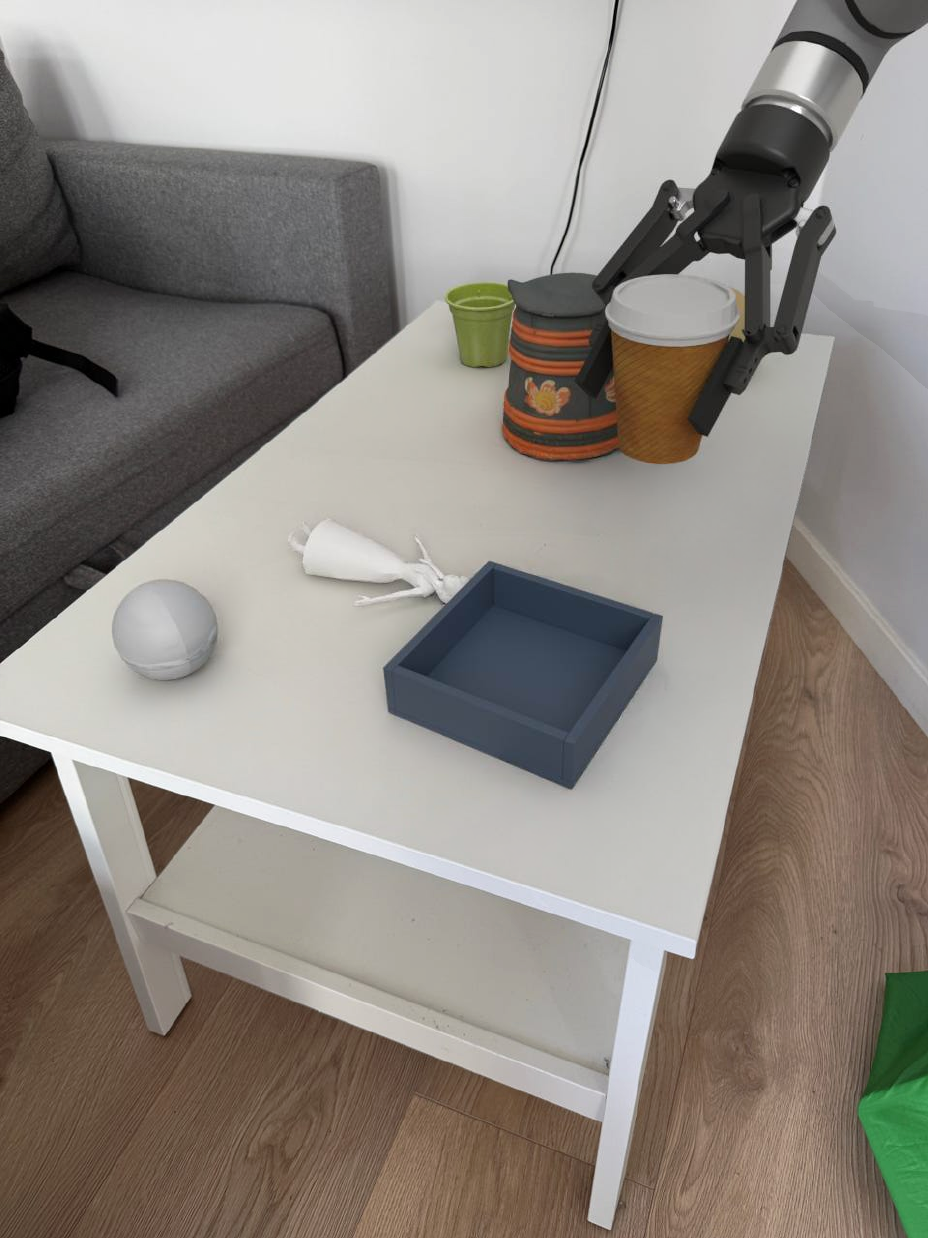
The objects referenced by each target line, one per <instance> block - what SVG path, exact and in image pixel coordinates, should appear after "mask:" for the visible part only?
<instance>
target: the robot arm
mask: <svg viewBox="0 0 928 1238" xmlns="http://www.w3.org/2000/svg"><path fill="white" fill-rule="evenodd" d="M927 24H928V0H796V1H795V3H794V5H793V7H792V9H791V11H790V12H789V15H788V17H787V18H786V21H785V22H784V25H782V28H781V30H780V32H779V34H778V36H777V38H776V39H775V42H774V44H773V45H772V47H771V50H770V51H769V53H768V55H767V56H766V58H765V60H764V62H763V64H762V66H761V67H760V69H759V70H758V73H757V75H756V77H755V78H754V81H753V82H752V84H751V86H750V88H749V90H748V92H747V93H746V95H745V97H744V99H743V101H742V103H741V106H740V111H739V112H738V113H736V115H735V117H734V119H733V121H732V122H731V124H730V126H729V128H728V130H727V132H726V134H725V136H724V138H723V140H722V142H721V143H720V145H719V146H718V147H719V148H718V149H717V151H716V153H715V156H714V160H713V163H712V166H711V170H710V172H709V174H708V175H707V176H706V177H705V179H704V180H702V181H701V182H700V183H699V184H698V185H696V188H691V187H690V188H689V187H678V185H677V183H676V181H675V180H674V179H667V180H664V181H663V182H662V183H661V185H660V186H659V189H658V192H657V194H656V196H655V198H654V201H653V203H652V206H651V207H650V208H649V210H648V211H647V212H646V213H645V215H644V216H643V217H642V219H641V220H640V221H639V222H638V224H637V225H636V226H635V227H634V228H633V230H632V231H631V233H630V234H628V236H627V238H626V239H625V240H623V243H622V244H621V245H619V247H618V249H617V250H616V251H615V253H613V255H612V256H611V258H610V259H609V260H608V261H607V263H606V264H605V265H604V266H603V268H602V269H601V270H600V271H599V272H598V274H597V277H596V278H595V279H594V281H593V282H592V289H593V290H594V291H595V292H596V294H597V295H598V296H599V298H600V299H601V300H602V302H603V303H604V304H605V307H604V309H603V311H602V313H601V315H600V317H599V319H598V321H597V323H596V325H595V327H594V328H593V330H592V332H591V334H590V336H589V344H590V345H591V346H592V349H591V350H590V352H589V354H588V356H587V358H586V360H585V362H584V364H583V366H582V368H581V370H580V371H579V373H578V375H577V377H576V379H575V382H576V383H577V384H578V386H579V387H580V388H581V389H582V390H583V391H584V392H585V393H586V394H587V395H588V396H590V397H592V398H595V399H596V398H597V396H598V394H599V393H600V391H601V389H602V387H603V385H604V383H605V381H606V379H607V377H608V375H609V374H610V372H611V370H612V368H613V352H612V336H611V328H610V326H609V322H608V320H607V318H606V315H605V309H606V306H607V305H608V304H609V303H610V302H611V299H612V295H613V291H614V289H615V288H616V287H617V286H618V285H620V284H621V283H623V282H626V281H628V280H631V279H635V278H639V277H643V276H651V275H663V274H677V275H680V274H681V273H682V272H683V271H684V270H685V269H686V268H687V267H689V266H690V265H692V263H694V262H700V261H701V260H703V259H705V257H707V256H708V255H709V254H710V253H712V254H717V255H725V254H729V255H730V256H732V257H734V258H736V259H740V260H744V296H745V330H743V329H742V333H743V335H744V336H745V340H744V342H742V340H741V338H737V337H733V336H731V337H730V339H729V341H728V343H727V345H726V347H725V349H724V351H723V353H722V354H721V356H720V358H719V360H718V362H717V364H716V366H715V368H714V369H713V371H712V373H711V375H710V377H709V379H708V381H707V383H706V384H705V386H704V388H703V390H702V392H701V394H700V396H699V398H698V399H697V401H696V403H695V405H694V407H693V409H692V411H691V413H690V414H689V416H688V418H687V420H688V421H689V422H690V424H691V425H692V426H693V427H694V429H695V430H696V431H697V433H698V434H700V435H702V437H706V438H709V435H710V434H711V432H712V430H713V428H714V427H715V424H716V422H717V421H718V419H719V417H720V415H721V413H722V412H723V409H724V408H725V405H726V404H727V402H728V400H729V398H730V397H731V394H734V395H737V396H740V395H741V394H743V393H744V392H745V391H746V389H747V388H748V386H749V384H750V382H751V380H752V378H753V376H754V375H755V373H756V371H757V369H758V367H759V366H760V363H761V362H762V360H763V359H764V357H766V356H767V355H769V354H772V353H781V354H783V355H786V356H789V355H793V354H794V353H795V352H796V351H797V350H798V348H799V345H800V340H801V337H802V333H803V330H804V325H805V321H806V318H807V314H808V310H809V305H810V303H811V298H812V294H813V292H814V291H813V290H814V287H815V283H816V279H817V274H818V271H819V268H820V263H821V260H822V257H823V255H824V253H825V252H826V250H827V248H828V247H829V246H830V244H831V243H832V241H833V240H834V238H835V236H836V234H837V228H836V225H835V221H834V218H833V214H832V212H831V209H830V207H829V206H827V205H820V206H817V207H816V208H814V209H810V208H807V207H804V205H805V203H806V202H807V200H809V198H810V197H811V194H812V193H813V191H814V190H815V187H816V185H817V183H818V182H819V179H820V178H821V176H822V174H823V172H824V170H825V168H826V166H827V165H828V163H829V160H830V157H831V153H832V152H833V151H834V150H835V148H836V146H837V145H838V144H839V141H840V139H841V137H842V136H843V134H844V132H845V131H846V128H847V126H848V124H849V123H850V121H851V119H852V117H853V115H854V113H855V111H856V110H857V108H858V106H859V103H860V102H861V101H862V99H863V97H864V95H865V94H866V91H867V90H868V87H869V85H870V83H871V82H872V80H873V78H874V76H875V74H876V72H877V71H878V69H879V67H880V65H881V63H882V61H883V60H884V58H885V57H886V55H887V54H888V53H889V51H890V50H891V49H892V48H893V47H894V46H895V45H897V44H898V43H900V42H901V41H902V40H903V39H905V38H907V37H908V36H909V35H913V34H914V33H916V32H917V31H918V30H920V29H921V28H923V27H924V26H926V25H927ZM692 209H693V212H692V213H691V214H689V215H688V216H687V217H686V213H687V212H689V211H690V210H692ZM679 222H680V223H679ZM678 223H679V224H678ZM677 224H678V225H677ZM676 226H677V227H676ZM674 230H675V232H674V234H673V235H672V236H671V237H670V235H671V234H672V233H673V231H674ZM794 230H795V235H796V241H795V244H794V246H793V251H792V255H791V259H790V263H789V266H788V270H787V274H786V277H785V282H784V284H783V289H782V293H781V297H780V301H779V305H778V308H777V312H776V315H775V320H774V324H773V326H771V271H772V270H773V244H774V243H776V242H777V241H779V240H780V239H781V238H783V237H785V236H786V235H788V234H789V233H790V232H792V231H794ZM696 233H697V236H698V237H699V239H698V240H697V239H696V238H695V235H696ZM669 237H670V238H669ZM668 238H669V239H668Z"/></svg>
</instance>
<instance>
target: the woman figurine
mask: <svg viewBox="0 0 928 1238" xmlns="http://www.w3.org/2000/svg"><path fill="white" fill-rule="evenodd" d="M301 531H302V535H303V536H304V537H305V538H307V540H306V542H305V545H304V544H301V543H299V541H298V539H297V538H296V537H295V536H294V532H291V534H289V536H288V543H289V549H291V550H293V551H294V552H297V553H299V554H300V555H302V557H303V559H302V562H301V563H302V564H301V565H302V566H303V569H304V571H305V573H306V575H310V576H317V577H326V578H330V579H331V578H332V579H335V580H342V581H349V582H350V581H351V582H352V581H353V582H364V583H374V584H375V583H376V584H387V583H388V584H389V583H393V582H395V581H398V580H403V581H405V582H406V583H408V584H409V585H411V586H412V587H413V588H410V589H403V590H399V591H396V592H392V593H388V594H386V595H380V596H376V597H369V596H366V595H357V596H358V598H362V599H358V600H354V601H353V604H352V606H355V607H364V606H368V605H370V604H376V603H381V602H386V601H397V600H400V599H405V598H412V597H422V598H426V597H429V596H430V595H433V594H434V593H436V595H437V596H438V598H439V600H440V601H441V602H442V603H444V604H445V605H446V604H447V603H448V602H449V601H450V600H451V599H452V598H453V597H454V596H455V595H456V594H457V593H458V592H459V591H460V590H461V589H462V587H463V586H464V585H465V584H466V583H467V582H468V581H469V580H470V579H471V578H470V577H468V576H467V575H465V574H462V575H461V574H460V576H458V575H456V574H446V575H445V574H444V573H443V572H442V571H441V570H439V568H438V567H437V566H436V564H435V563H434V561H433V559H432V557H431V555H430V554H429V553H428V551H427V549H426V547H425V546H424V544H423V542H422V540H421V538H420V536H419V535H418V534H417V533H415V534H413V538H414V541H415V542H416V543H417V546H418V547H419V550H420V551H421V553H422V557H423V558H418V561H420V563H417V562H416V563H415V562H408V561H407V560H406V559H405V558H404V557H403V556H402V555H399V554H397V553H396V552H394V551H393V550H391V549H389V548H387V547H385V546H383V545H382V544H380V543H378V542H377V541H375V540H374V539H371V538H369V537H368V536H366V535H365V534H363V533H361V532H359V531H358V530H356V529H353V528H351V527H350V526H347V525H345V524H343V523H341V522H339V521H337V520H336V519H333V518H326V519H324V520H323V521H321V522H319V523H318V524H316V526H315V528H314V529H313V530H311V529H310V527H309V525H308V523H307V521H304V522H303V523H302V524H301Z"/></svg>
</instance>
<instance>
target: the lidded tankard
mask: <svg viewBox="0 0 928 1238" xmlns="http://www.w3.org/2000/svg"><path fill="white" fill-rule="evenodd" d="M597 275H598V274H597ZM597 275H596V274H592V273H585V272H560V273H559V272H558V273H553V274H547V275H543V276H539V277H534V278H532V279H530V280H526V281H524V282H522V281H518V280H515V279H508V280H507V285H508V291H509V292H510V293H511V295H512V299H513V301H514V303H515V308H514V310H513V312H512V320H511V326H510V334H509V342H508V356H509V357H510V365H509V374H508V384H507V385H508V386H507V388H506V390H505V392H504V395H503V402H502V406H503V407H502V411H503V412H502V423H501V432H502V435H503V437H504V439H505V441H506V442H507V443H508V444H509V445H510V446H511V447H512V448H513V449H515V450H516V451H518V452H519V453H520V454H524V455H526V457H527V456H528V457H529V458H534V459H537V460H540V461H548V462H552V461H577V460H588V459H594V458H598V457H601V456H605V455H607V454H610V453H612V452H614V451H616V450H617V449H619V447H618V430H617V415H616V400H615V383H614V368H612V370H611V372H610V374H609V375H608V377H607V379H606V381H605V383H604V385H603V387H602V389H601V391H600V393H599V394H598V396H597V398H596V399H595V398H592V397H590V396H588V395H587V394H586V393H585V392H584V391H583V390H582V389H581V388H580V387H579V386H578V384H577V383H576V382H575V379H576V377H577V375H578V373H579V371H580V370H581V368H582V366H583V364H584V362H585V360H586V358H587V356H588V354H589V352H590V350H591V349H592V346H591V345H590V344H589V336H590V334H591V332H592V330H593V328H594V327H595V325H596V323H597V321H598V319H599V317H600V315H601V313H602V311H603V309H604V307H605V304H604V303H603V302H602V300H601V299H600V298H599V296H598V295H597V294H596V292H595V291H594V290H593V289H592V282H593V281H594V279H595V278H596V277H597Z"/></svg>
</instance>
